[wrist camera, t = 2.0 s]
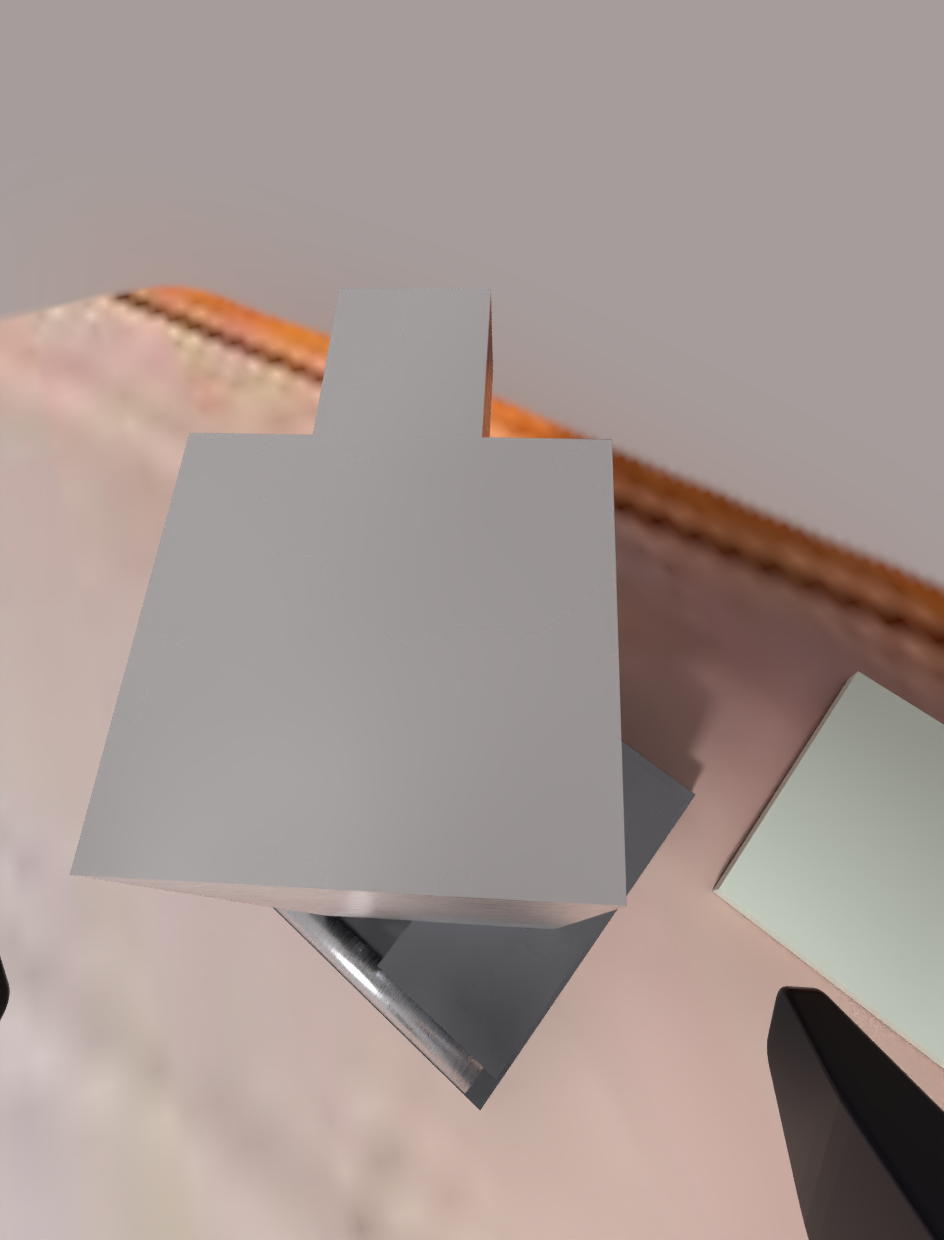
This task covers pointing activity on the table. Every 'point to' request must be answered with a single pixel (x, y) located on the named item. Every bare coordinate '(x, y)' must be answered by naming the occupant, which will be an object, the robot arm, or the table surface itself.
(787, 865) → the pad
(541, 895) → the grey stepped block
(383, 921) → the vise
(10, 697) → the table surface
